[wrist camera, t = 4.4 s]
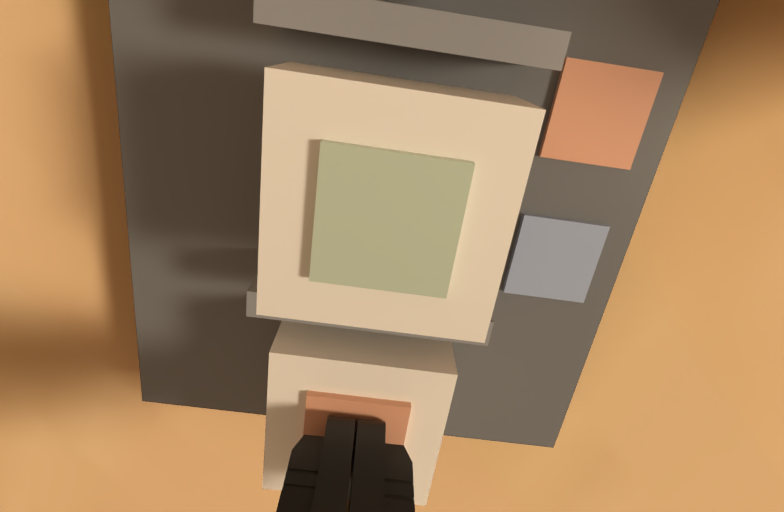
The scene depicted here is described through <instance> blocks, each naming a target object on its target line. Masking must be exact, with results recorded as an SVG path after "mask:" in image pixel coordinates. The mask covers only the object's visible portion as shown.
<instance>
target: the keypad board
mask: <svg viewBox="0 0 784 512" xmlns="http://www.w3.org/2000/svg"><path fill="white" fill-rule="evenodd" d="M719 1H720V0H109V12H110V24H111V36H112V48H113V59H114V71H115V83H116V95H117V107H118V118H119V130H120V142H121V154H122V166H123V177H124V189H125V201H126V213H127V225H128V236H129V248H130V260H131V272H132V284H133V295H134V307H135V319H136V331H137V343H138V354H139V366H140V378H141V390H142V401H147V402H156V403H164V404H173V405H182V406H191V407H200V408H209V409H217V410H226V411H235V412H244V413H253V414H262V415H266V407H267V386H268V365H269V351H270V349H271V346H272V344H273V341H274V339H275V336H276V334H277V331H278V329H279V326H280V324H281V322H282V321H289V322H297V323H305V324H313V325H321V326H329V327H337V328H345V329H353V330H361V331H369V332H377V333H385V334H393V335H401V336H410V337H418V338H426V339H434V340H442V341H450V342H452V347H453V352H454V357H455V363H456V368H457V373H458V377H457V381H456V385H455V389H454V393H453V397H452V401H451V405H450V409H449V413H448V417H447V422H446V426H445V430H444V434H443V435H447V436H456V437H464V438H473V439H482V440H491V441H500V442H508V443H517V444H526V445H535V446H544V447H554V445H555V442H556V439H557V437H558V434H559V431H560V428H561V426H562V423H563V420H564V418H565V415H566V412H567V410H568V407H569V404H570V402H571V399H572V396H573V394H574V391H575V388H576V385H577V383H578V380H579V377H580V375H581V372H582V369H583V367H584V364H585V361H586V359H587V356H588V353H589V351H590V348H591V345H592V342H593V340H594V337H595V334H596V332H597V329H598V326H599V324H600V321H601V318H602V316H603V313H604V310H605V308H606V305H607V302H608V299H609V297H610V294H611V291H612V289H613V286H614V283H615V281H616V278H617V275H618V273H619V270H620V267H621V265H622V262H623V259H624V256H625V254H626V251H627V248H628V246H629V243H630V240H631V238H632V235H633V232H634V230H635V227H636V224H637V222H638V219H639V216H640V213H641V211H642V208H643V205H644V203H645V200H646V197H647V195H648V192H649V189H650V187H651V184H652V181H653V179H654V176H655V173H656V170H657V168H658V165H659V162H660V160H661V157H662V154H663V152H664V149H665V146H666V144H667V141H668V138H669V136H670V133H671V130H672V127H673V125H674V122H675V119H676V117H677V114H678V111H679V109H680V106H681V103H682V101H683V98H684V95H685V93H686V90H687V87H688V84H689V82H690V79H691V76H692V74H693V71H694V68H695V66H696V63H697V60H698V58H699V55H700V52H701V50H702V47H703V44H704V41H705V39H706V36H707V33H708V31H709V28H710V25H711V23H712V20H713V17H714V15H715V12H716V9H717V7H718V4H719ZM287 62H297V63H304V64H310V65H317V66H323V67H330V68H337V69H343V70H350V71H356V72H363V73H369V74H376V75H382V76H389V77H395V78H402V79H408V80H415V81H422V82H428V83H435V84H441V85H448V86H454V87H461V88H467V89H474V90H480V91H487V92H493V93H500V94H507V95H513V96H517V97H519V98H521V99H523V100H526V101H528V102H530V103H532V104H534V105H536V106H539V107H541V108H543V109H545V110H546V112H545V116H544V120H543V124H542V127H541V131H540V135H539V139H538V143H537V146H536V150H535V154H534V158H533V162H532V165H531V169H530V173H529V177H528V180H527V184H526V188H525V192H524V196H523V199H522V203H521V207H520V211H519V215H518V218H517V222H516V226H515V230H514V234H513V237H512V241H511V245H510V249H509V252H508V256H507V260H506V264H505V268H504V271H503V275H502V279H501V283H500V287H499V290H498V294H497V298H496V302H495V306H494V309H493V313H492V317H491V321H490V324H489V328H488V332H487V336H486V340H485V343H481V342H472V341H464V340H456V339H448V338H440V337H432V336H424V335H416V334H408V333H400V332H392V331H384V330H376V329H368V328H360V327H352V326H344V325H336V324H328V323H320V322H312V321H304V320H296V319H288V318H280V317H271V316H263V315H256V307H257V277H258V248H259V218H260V188H261V158H262V128H263V99H264V69H265V67H268V66H273V65H277V64H282V63H287Z"/></svg>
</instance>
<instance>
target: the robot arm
mask: <svg viewBox="0 0 784 512" xmlns="http://www.w3.org/2000/svg"><path fill="white" fill-rule="evenodd" d="M354 430H355V418H348V417H339V416H330V415H328V418H327V423H326V429H325V435H324V437H323V436H314V435H305V434H304V435H303V436H302V438H301V439H300V440H299V441H298V443H297V444H296V445H295V446H294V448H293V449H292V451H291V455H290V459H289V463H288V467H287V472H286V475H285V479H284V483H283V487H282V491H281V495H280V499H279V503H278V507H277V511H276V512H415V505H414V485H413V462H412V460H411V458H410V456H409V455H408V453H407V451H406V449H405V447H404V445H397V444H388V443H385V436H386V423H385V422H384V421H375V420H367V419H358V421H357V428H356V434H355V441H354V448H353V440H354ZM352 450H353V455H352ZM351 460H352V462H351Z"/></svg>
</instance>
